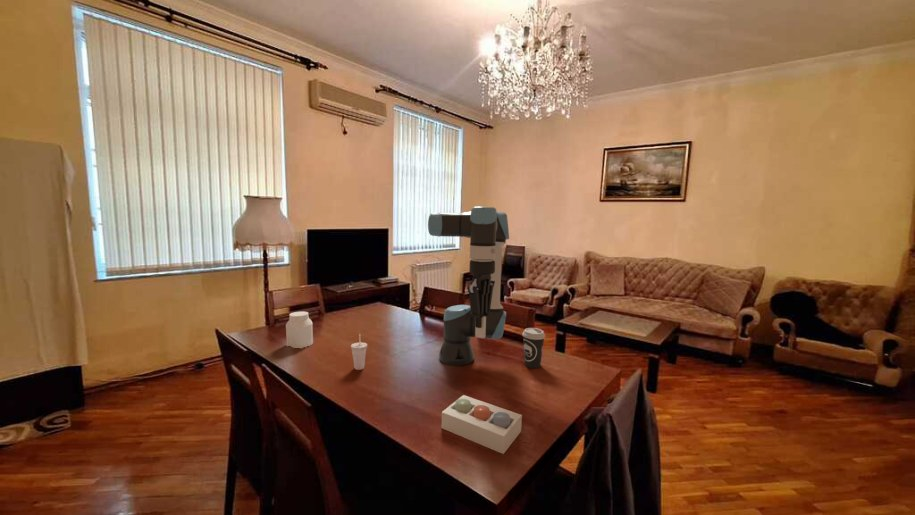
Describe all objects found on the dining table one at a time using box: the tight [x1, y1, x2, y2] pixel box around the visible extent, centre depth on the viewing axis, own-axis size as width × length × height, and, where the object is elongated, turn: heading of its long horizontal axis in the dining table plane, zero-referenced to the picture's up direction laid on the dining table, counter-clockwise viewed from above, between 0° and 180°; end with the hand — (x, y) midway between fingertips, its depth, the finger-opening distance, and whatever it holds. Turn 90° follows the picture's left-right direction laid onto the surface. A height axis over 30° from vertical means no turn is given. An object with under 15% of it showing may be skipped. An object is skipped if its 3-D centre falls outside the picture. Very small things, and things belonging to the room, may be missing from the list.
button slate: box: [493, 412, 510, 429], centre depth 98 cm, size 5×5×6 cm
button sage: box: [455, 398, 471, 414], centre depth 105 cm, size 5×5×6 cm
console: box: [441, 394, 523, 455], centre depth 101 cm, size 20×12×5 cm, turn 57°
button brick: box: [474, 405, 490, 421], centre depth 101 cm, size 5×5×6 cm
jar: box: [285, 311, 314, 349], centre depth 165 cm, size 12×10×15 cm
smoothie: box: [350, 333, 368, 371], centre depth 140 cm, size 6×6×14 cm
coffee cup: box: [521, 327, 546, 369], centre depth 146 cm, size 10×10×15 cm
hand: (480, 336), depth 105 cm, fingers closed
